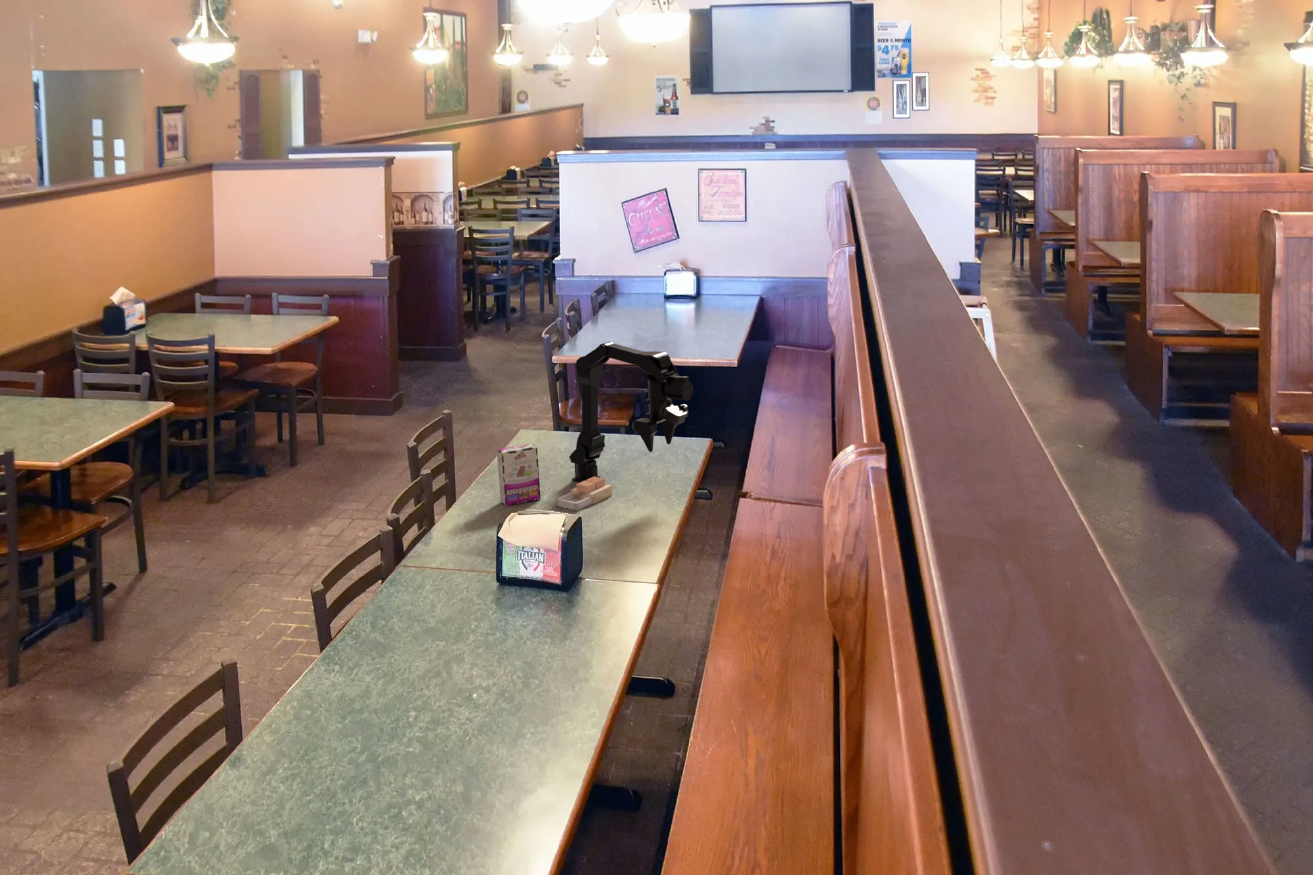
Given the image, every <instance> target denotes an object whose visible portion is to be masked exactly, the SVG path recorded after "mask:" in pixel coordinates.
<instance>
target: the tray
mask: <svg viewBox="0 0 1313 875" xmlns="http://www.w3.org/2000/svg"><path fill="white" fill-rule="evenodd" d="M556 505H558V506H560V507H559V508H562V507H566V508H568V509H567V510H570V509H571V510H572V511H576V512H577V511H580V510H582V509H585V508H587V507H588V506H591V505H593V504H592V497H590V496H589V497H587V498H585V499H583V500H578V499H573V493H572V492H571V491H570V492H568V493H566V494H563V495H561V496H560V497H559V496H558V497H557V498H555V506H556ZM566 508H565V509H566ZM571 510H570V511H571Z"/></svg>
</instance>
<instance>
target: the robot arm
mask: <svg viewBox="0 0 1313 875" xmlns="http://www.w3.org/2000/svg"><path fill="white" fill-rule="evenodd" d="M610 359H612V360H616V361H618V362H623V363H625V364H626V363H627V364H628V365H634V366H637V368H638V367H639V369H640V370H641V371H642V372H645V375H644V376H642V377H641V379H642V381H647V382H648V384H647V385H648V399H645V404H647V405H648V412H647V413H645V414H646V415H645V416H646V417H645V418H644V417H640V418H638V419H635V420H634V421H633V422H632V431H635V432H636V433H638V435H639V436H640V438H641V439H642V441H643V443H644V445H645V446H646V449H647V450H648V452H649V453H653V449H654V438H655V436H654V435H655V434H656V433H657V432H658V430H657V428H658V424H660V423H661V425H662V430H663V433H664V438H665V441H666V444H667V445H671V443H672V440H673V437H674V434H675V430H676V427H677V426H678V425H680V424H683V423H684V422H685V420H686V418H687V417H689V408H688V405H687V404H684V403H683V404H680V405H674V404H673V400H672V399H674V400H680V401H686V402H687V401H690V399H691V398H692V396H693V393H694V386H693V384H692V382H691V381H690V378H689V376H686V375H684V376H683V375H682V376H680V373H679V372H678V370H677V368H676V367H675V364H674V363H673V361H672V359H671V357H670V356H669V354H668V353H667V352H665V351H656V350H654V351H643V350H641V349H640V350H639V349H636V348H634V347H633V348H632V347H628V346H624V345H621V344H618V343H615V342H612V341H607V342H603V343H601V344H599V345H598V346H597V347H596V348H595V349H593V350H591V351H590V352H589V353H587V354H585V355H584V356H580V357H578V358H577V360H576V362H575V370H576V377H577V378H578V380H579V381H580V383H581V430H580V432H579V434H578V436H577V438H576V444H575V445H576V446H575V449H574V451H573V452H571V454H570V455H569V461H570V463H571V464H574V477H572V478H571V480H572V481H575V482H578V483H580V482H583V481H586V480H587V479H590V478H592V477H599V478H601V476H600V475H599V474H598V473H599V472H598V471H599V470H598V465H597V459H600V457H601V454H602V453H603V451H604V449H605V447H606V443H605V441H606V440H605V439H606V435H605V434H603V433H602V434H601V432H600V430H599V383H600V381H601V379H602V377H603V374H604V367H605V364H606V363H607V362H609V360H610Z"/></svg>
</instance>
